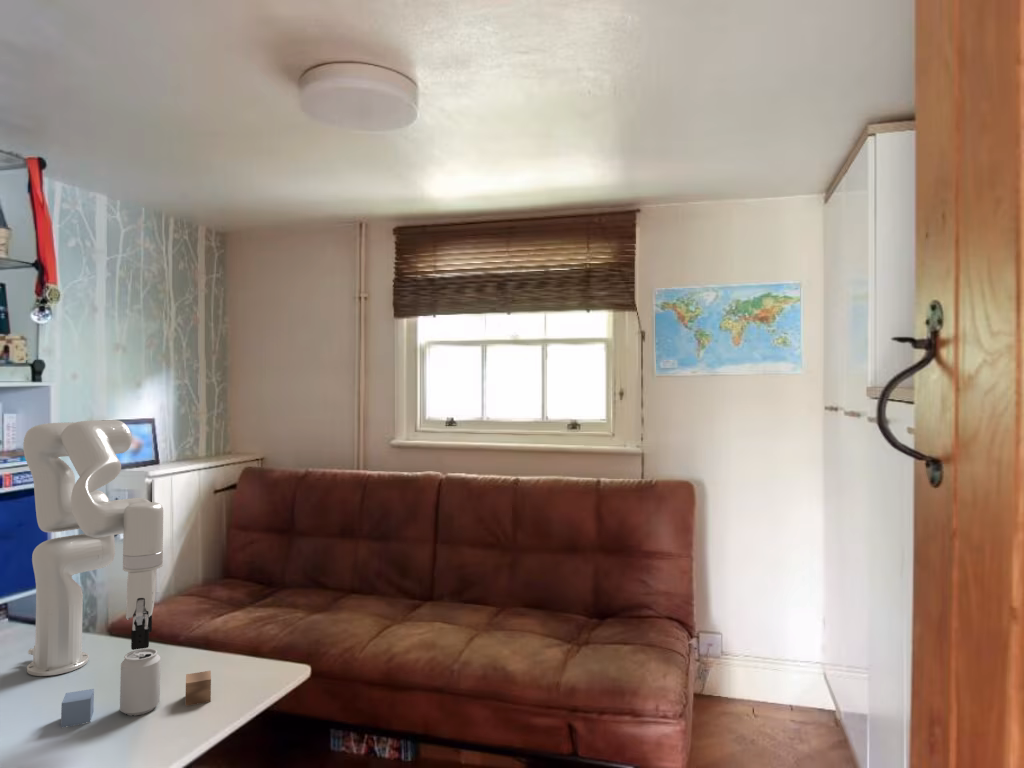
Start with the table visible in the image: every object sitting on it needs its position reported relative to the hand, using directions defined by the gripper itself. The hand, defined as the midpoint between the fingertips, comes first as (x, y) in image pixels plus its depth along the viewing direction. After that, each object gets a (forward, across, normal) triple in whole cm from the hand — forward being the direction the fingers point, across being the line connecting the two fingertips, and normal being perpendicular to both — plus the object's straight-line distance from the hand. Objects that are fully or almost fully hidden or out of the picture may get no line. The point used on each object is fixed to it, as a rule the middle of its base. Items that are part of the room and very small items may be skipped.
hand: (141, 640), depth 142 cm
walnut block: (+15, 0, +11) cm, 19 cm away
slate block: (+15, 0, -12) cm, 19 cm away
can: (+15, 0, 0) cm, 15 cm away
